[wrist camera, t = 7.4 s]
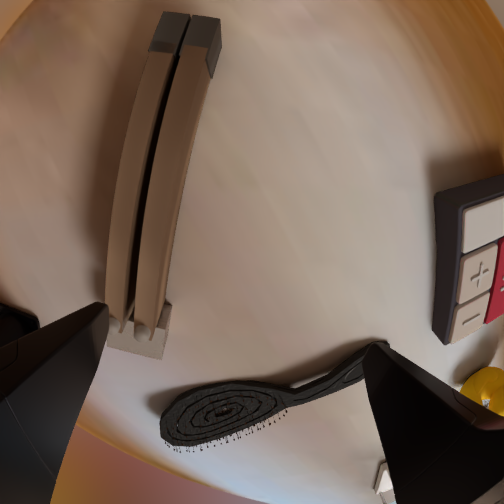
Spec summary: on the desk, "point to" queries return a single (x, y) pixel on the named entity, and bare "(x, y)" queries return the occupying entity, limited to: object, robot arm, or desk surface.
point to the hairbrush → (246, 404)
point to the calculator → (469, 258)
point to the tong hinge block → (150, 347)
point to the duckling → (486, 388)
